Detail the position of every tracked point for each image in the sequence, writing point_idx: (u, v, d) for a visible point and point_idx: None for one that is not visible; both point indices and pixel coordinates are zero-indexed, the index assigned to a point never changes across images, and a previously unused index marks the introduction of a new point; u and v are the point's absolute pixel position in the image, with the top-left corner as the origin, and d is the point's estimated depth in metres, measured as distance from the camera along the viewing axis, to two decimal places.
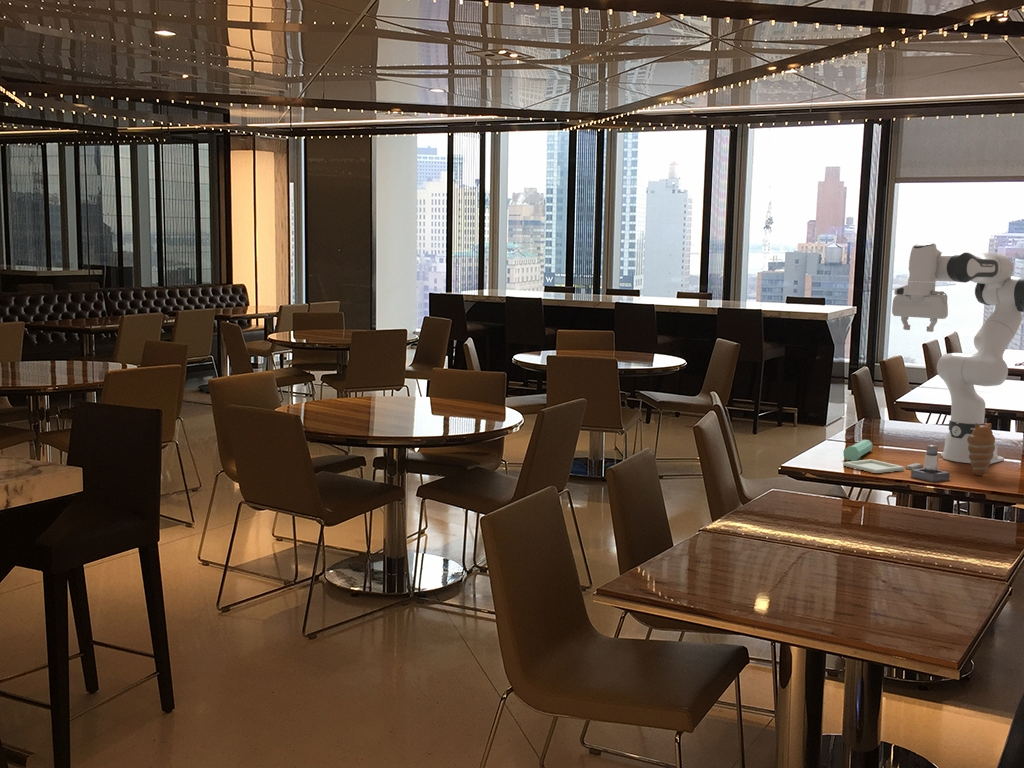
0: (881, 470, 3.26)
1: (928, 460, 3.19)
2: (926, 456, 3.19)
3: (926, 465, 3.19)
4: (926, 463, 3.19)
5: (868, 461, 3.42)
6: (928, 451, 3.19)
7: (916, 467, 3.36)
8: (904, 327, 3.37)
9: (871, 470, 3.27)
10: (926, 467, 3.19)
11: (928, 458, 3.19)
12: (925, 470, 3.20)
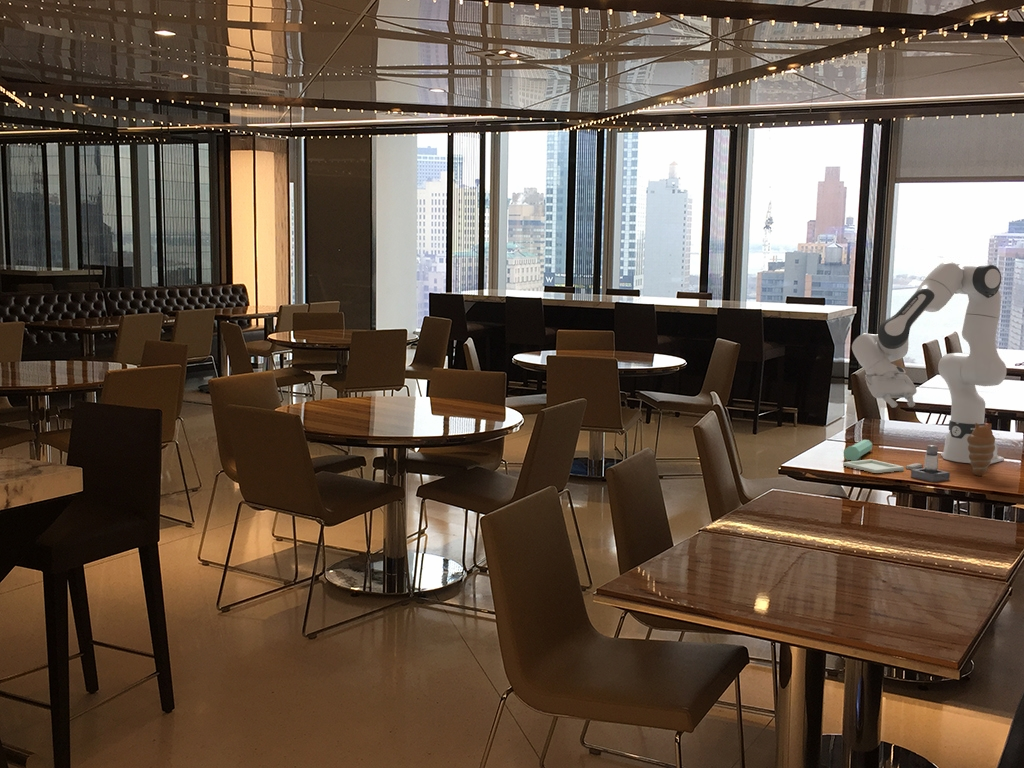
0: (881, 470, 3.26)
1: (928, 460, 3.19)
2: (926, 456, 3.19)
3: (926, 465, 3.19)
4: (926, 463, 3.19)
5: (868, 461, 3.42)
6: (928, 451, 3.19)
7: (916, 467, 3.36)
8: None
9: (871, 470, 3.27)
10: (926, 467, 3.19)
11: (928, 458, 3.19)
12: (925, 470, 3.20)
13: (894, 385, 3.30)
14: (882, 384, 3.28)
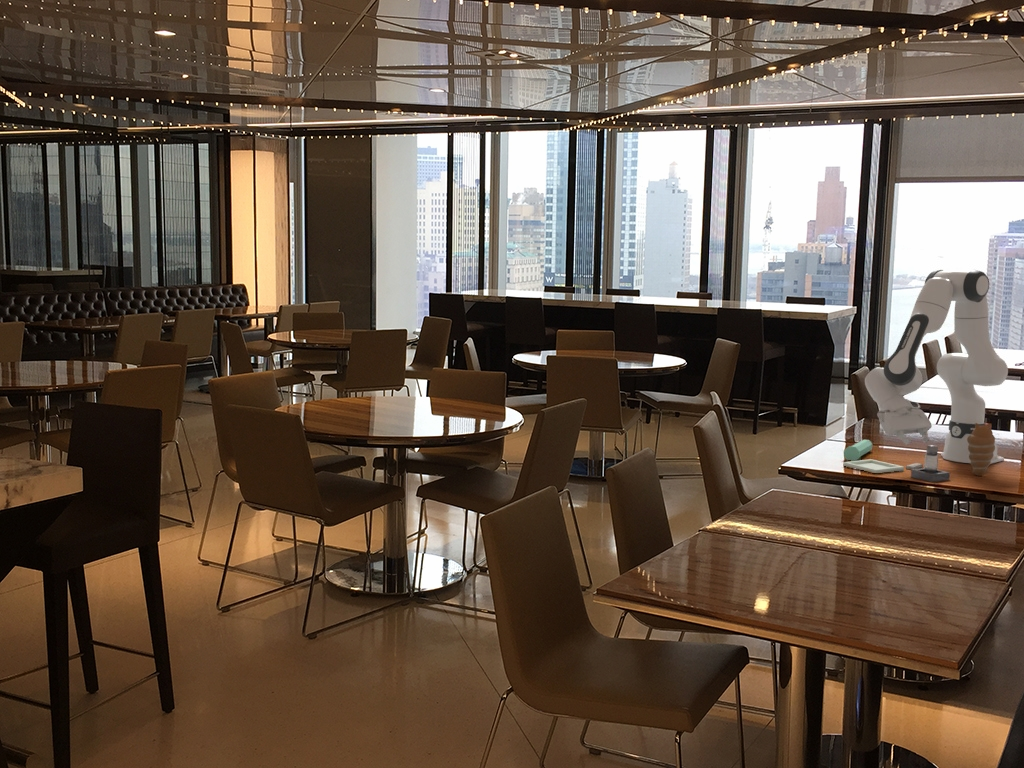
0: (881, 470, 3.26)
1: (928, 460, 3.19)
2: (926, 456, 3.19)
3: (926, 465, 3.19)
4: (926, 463, 3.19)
5: (868, 461, 3.42)
6: (928, 451, 3.19)
7: (916, 467, 3.36)
8: None
9: (871, 470, 3.27)
10: (926, 467, 3.19)
11: (928, 458, 3.19)
12: (925, 470, 3.20)
13: (908, 421, 3.26)
14: (895, 421, 3.24)
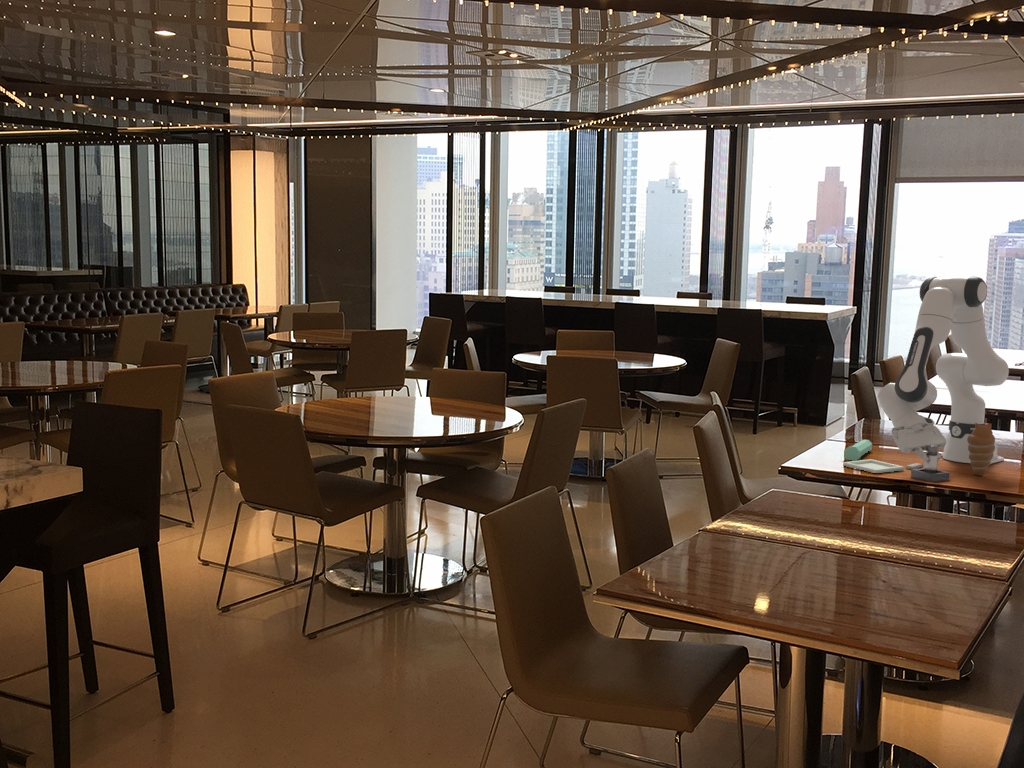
0: (881, 470, 3.26)
1: None
2: None
3: (926, 465, 3.19)
4: (926, 463, 3.19)
5: (868, 461, 3.42)
6: (928, 451, 3.19)
7: (916, 467, 3.36)
8: None
9: (871, 470, 3.27)
10: (926, 467, 3.19)
11: None
12: (925, 470, 3.20)
13: (922, 438, 3.22)
14: (909, 438, 3.19)
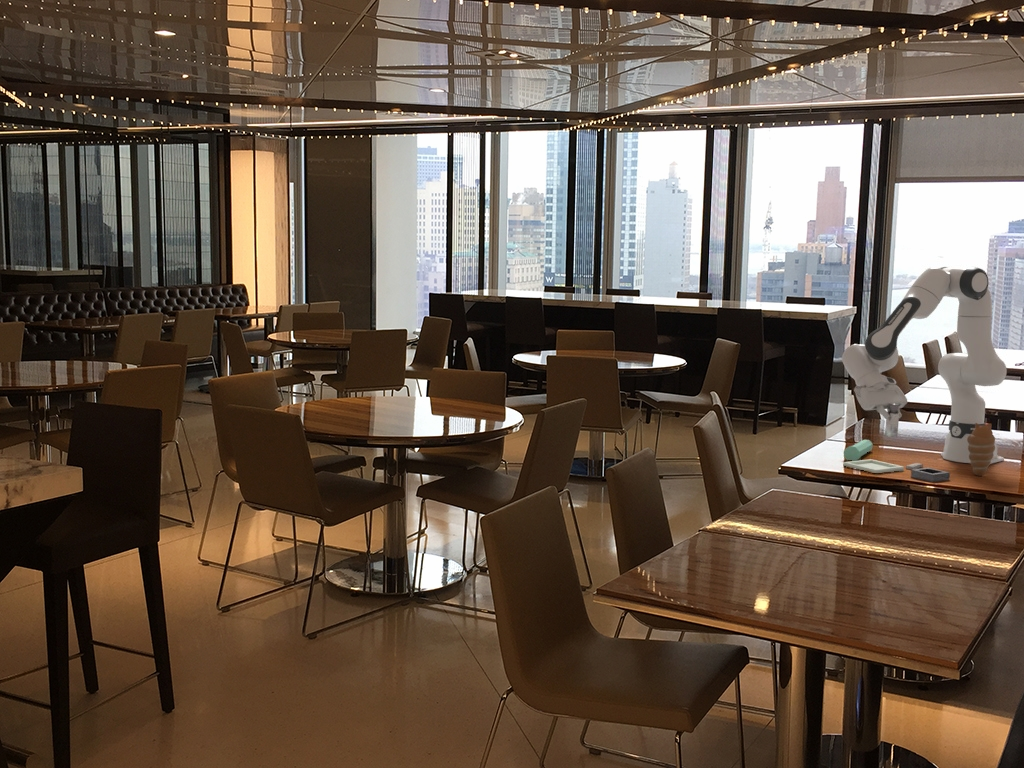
0: (881, 470, 3.26)
1: (889, 418, 3.27)
2: None
3: (887, 423, 3.27)
4: (887, 421, 3.27)
5: (868, 461, 3.42)
6: (889, 409, 3.27)
7: (916, 467, 3.36)
8: None
9: (871, 470, 3.27)
10: (887, 425, 3.27)
11: None
12: (886, 428, 3.28)
13: (884, 397, 3.30)
14: (871, 396, 3.27)
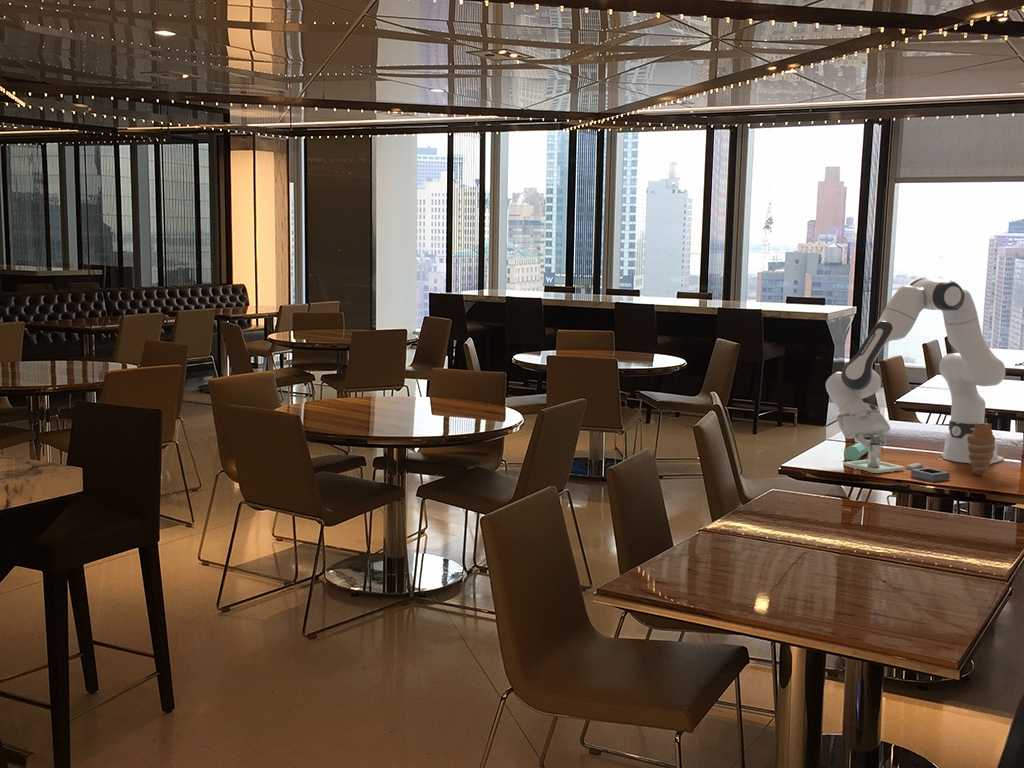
0: (881, 470, 3.26)
1: (871, 450, 3.32)
2: None
3: (869, 454, 3.33)
4: (869, 452, 3.33)
5: None
6: (871, 441, 3.33)
7: (916, 467, 3.36)
8: None
9: (871, 470, 3.27)
10: (869, 456, 3.33)
11: (871, 447, 3.32)
12: (868, 459, 3.34)
13: (866, 425, 3.35)
14: (854, 424, 3.33)
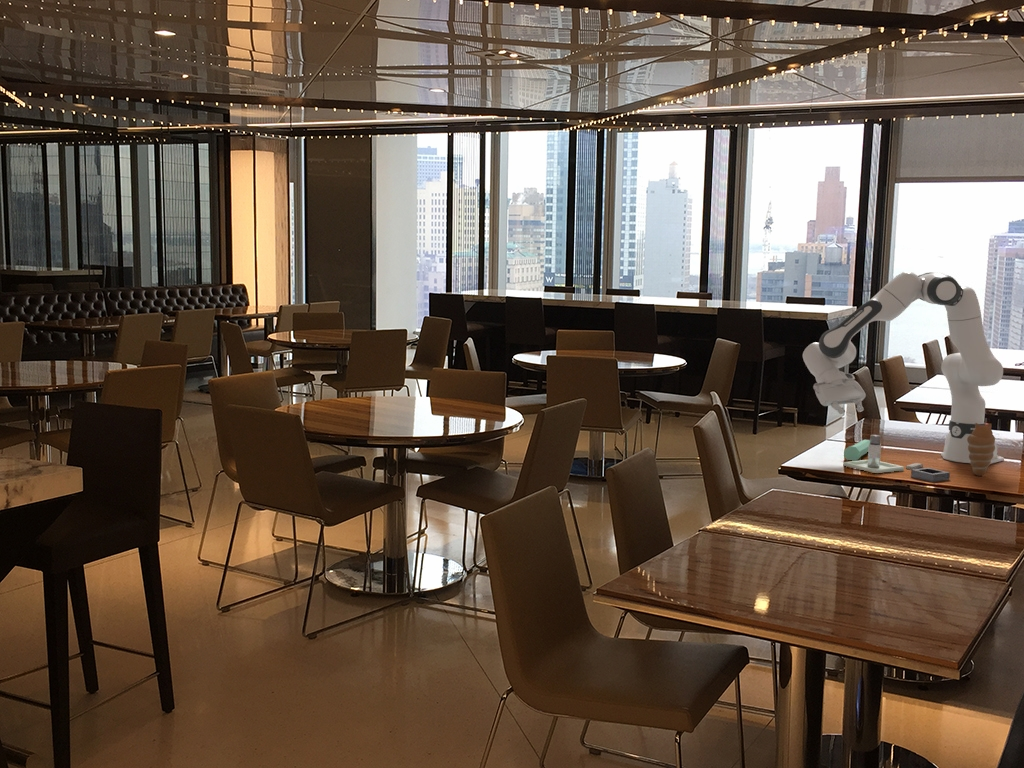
0: (881, 470, 3.26)
1: (871, 450, 3.32)
2: (869, 445, 3.33)
3: (869, 454, 3.33)
4: (869, 452, 3.33)
5: None
6: (871, 441, 3.33)
7: (916, 467, 3.36)
8: None
9: (871, 470, 3.27)
10: (869, 456, 3.33)
11: (871, 447, 3.32)
12: (868, 459, 3.34)
13: (842, 392, 3.46)
14: (830, 392, 3.44)
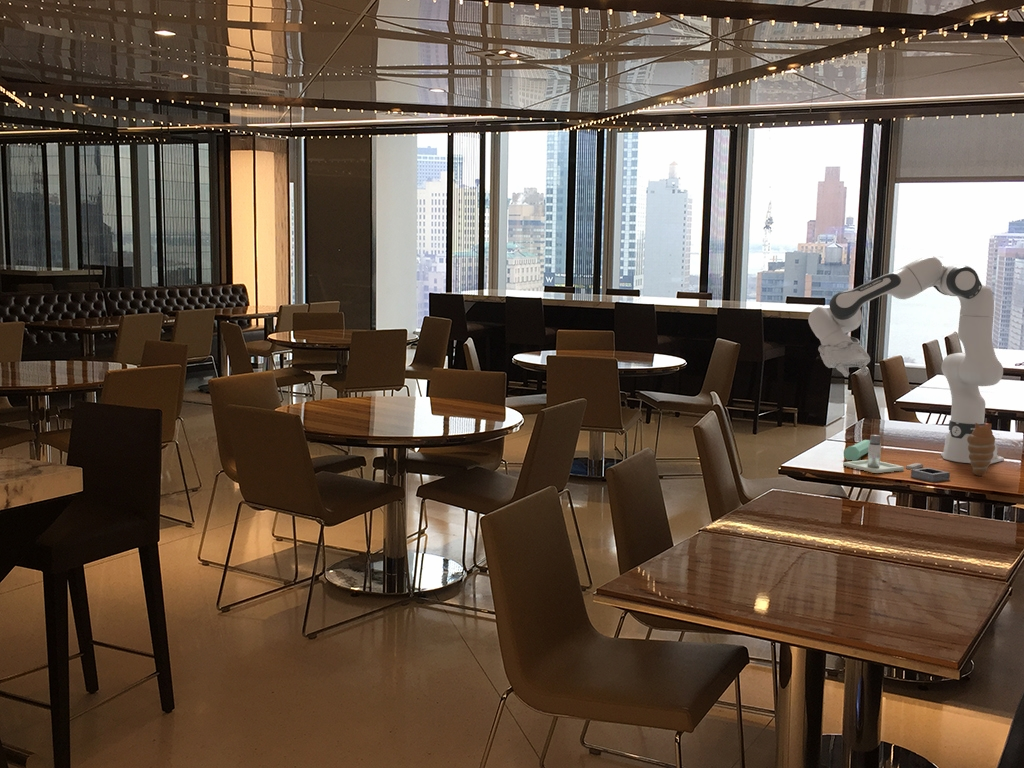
0: (881, 470, 3.26)
1: (871, 450, 3.32)
2: (869, 445, 3.33)
3: (869, 454, 3.33)
4: (869, 452, 3.33)
5: None
6: (871, 440, 3.33)
7: (916, 467, 3.36)
8: None
9: (871, 470, 3.27)
10: (869, 456, 3.33)
11: (871, 447, 3.32)
12: (868, 459, 3.34)
13: (847, 355, 3.45)
14: (834, 354, 3.43)
